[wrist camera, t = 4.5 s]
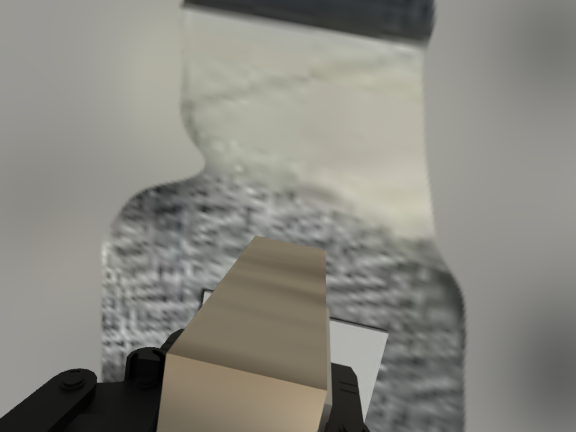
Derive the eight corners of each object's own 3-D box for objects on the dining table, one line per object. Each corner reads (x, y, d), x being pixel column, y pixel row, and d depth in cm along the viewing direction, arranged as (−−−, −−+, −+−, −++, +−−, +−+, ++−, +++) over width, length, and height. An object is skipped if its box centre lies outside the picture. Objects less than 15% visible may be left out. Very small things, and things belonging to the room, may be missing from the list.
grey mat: (206, 290, 31) (204, 291, 30) (387, 331, 30) (388, 333, 29) (190, 389, 32) (189, 391, 32) (360, 430, 31) (360, 434, 31)
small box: (254, 235, 17) (164, 352, 7) (325, 250, 17) (327, 390, 7) (230, 375, 19) (131, 619, 9) (294, 390, 19) (262, 656, 9)
